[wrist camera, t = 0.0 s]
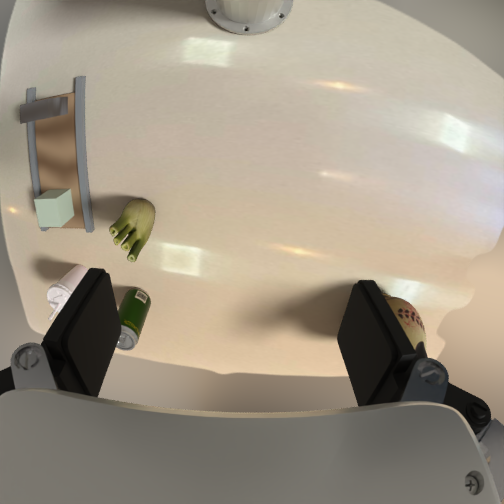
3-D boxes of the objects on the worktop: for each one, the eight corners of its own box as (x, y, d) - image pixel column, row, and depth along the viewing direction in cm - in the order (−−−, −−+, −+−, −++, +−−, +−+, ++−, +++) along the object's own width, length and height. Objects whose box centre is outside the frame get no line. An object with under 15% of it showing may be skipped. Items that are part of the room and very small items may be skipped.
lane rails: (31, 88, 35) (27, 89, 34) (85, 76, 36) (82, 76, 35) (44, 228, 48) (41, 231, 47) (94, 229, 49) (91, 232, 47)
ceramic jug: (363, 346, 65) (403, 455, 39) (325, 315, 60) (367, 445, 33) (420, 301, 60) (484, 404, 34) (391, 262, 54) (470, 380, 28)
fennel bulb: (159, 227, 49) (139, 264, 39) (132, 227, 49) (107, 264, 38) (156, 194, 46) (133, 225, 36) (128, 195, 46) (99, 225, 36)
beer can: (130, 282, 54) (110, 324, 44) (155, 293, 56) (140, 337, 45) (123, 301, 56) (104, 343, 46) (147, 312, 58) (132, 355, 47)
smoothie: (64, 272, 53) (32, 315, 40) (75, 252, 51) (40, 295, 38) (87, 291, 55) (60, 337, 43) (100, 272, 53) (70, 319, 41)
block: (49, 189, 44) (34, 199, 39) (70, 188, 44) (56, 198, 39) (53, 215, 46) (39, 226, 42) (74, 215, 46) (61, 227, 42)
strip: (36, 100, 36) (13, 104, 30) (77, 92, 37) (55, 93, 31) (49, 226, 47) (31, 242, 42) (86, 227, 48) (70, 244, 42)
